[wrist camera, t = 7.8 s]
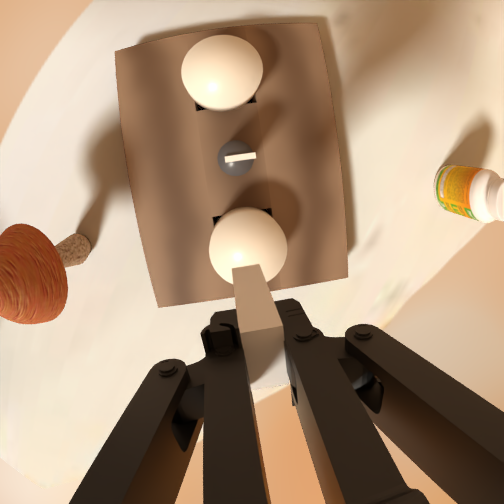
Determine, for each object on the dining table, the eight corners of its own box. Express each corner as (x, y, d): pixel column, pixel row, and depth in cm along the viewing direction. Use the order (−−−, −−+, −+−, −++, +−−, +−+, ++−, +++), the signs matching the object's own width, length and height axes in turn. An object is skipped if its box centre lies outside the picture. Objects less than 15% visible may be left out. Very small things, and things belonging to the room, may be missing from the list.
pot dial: (221, 175, 25) (220, 178, 20) (217, 146, 24) (214, 142, 19) (251, 170, 25) (258, 173, 20) (247, 142, 24) (253, 137, 19)
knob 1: (194, 122, 26) (186, 112, 20) (186, 62, 24) (177, 41, 19) (260, 112, 26) (268, 100, 21) (251, 53, 24) (256, 31, 19)
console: (164, 294, 30) (158, 307, 28) (124, 60, 23) (114, 51, 21) (337, 267, 31) (348, 277, 28) (308, 34, 24) (317, 23, 21)
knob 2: (218, 268, 30) (216, 292, 24) (207, 207, 28) (202, 218, 23) (279, 259, 30) (290, 280, 25) (272, 197, 28) (282, 206, 23)
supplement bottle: (428, 205, 30) (487, 224, 21) (435, 159, 29) (497, 165, 19) (459, 214, 31) (516, 233, 21) (466, 171, 29) (525, 180, 20)
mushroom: (46, 203, 27) (-54, 240, 12) (111, 202, 27) (21, 243, 13) (53, 275, 29) (-28, 344, 15) (115, 280, 30) (48, 365, 15)
